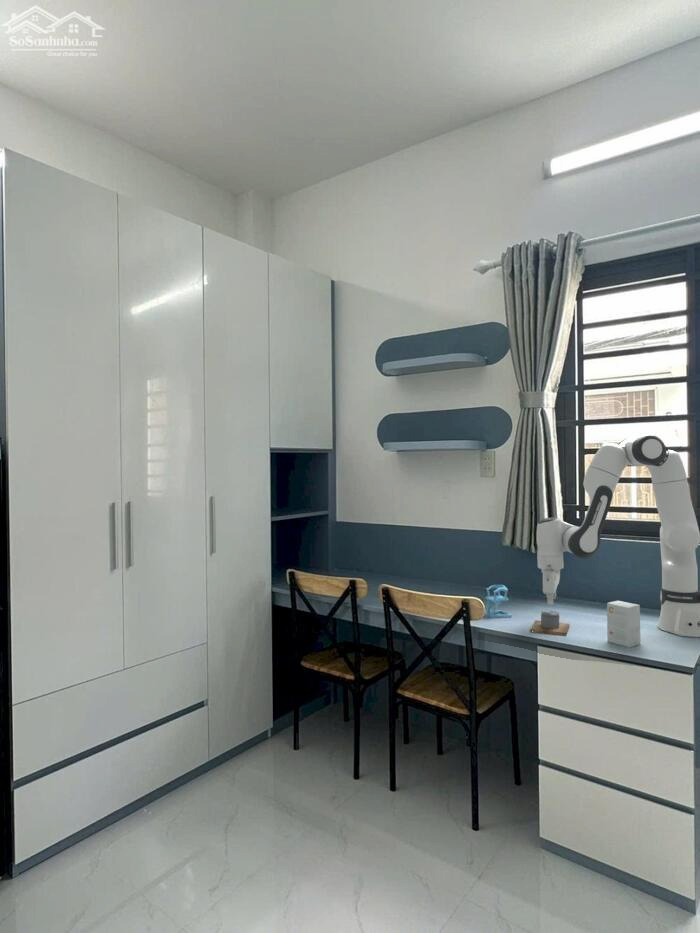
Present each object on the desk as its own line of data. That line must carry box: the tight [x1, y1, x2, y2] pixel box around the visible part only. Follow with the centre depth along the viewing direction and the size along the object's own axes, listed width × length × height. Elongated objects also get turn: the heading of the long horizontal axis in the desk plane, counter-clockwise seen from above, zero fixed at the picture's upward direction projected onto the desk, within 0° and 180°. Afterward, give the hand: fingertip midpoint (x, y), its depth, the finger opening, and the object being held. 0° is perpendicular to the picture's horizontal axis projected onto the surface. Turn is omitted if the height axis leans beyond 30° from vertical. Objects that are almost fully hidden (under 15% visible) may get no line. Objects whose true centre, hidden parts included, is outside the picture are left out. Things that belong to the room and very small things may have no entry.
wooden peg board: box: [530, 620, 571, 637], centre depth 211 cm, size 12×12×4 cm
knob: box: [540, 610, 560, 629], centre depth 211 cm, size 6×6×5 cm
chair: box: [485, 584, 513, 619], centre depth 230 cm, size 8×8×12 cm
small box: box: [606, 600, 641, 648], centre depth 195 cm, size 8×6×13 cm
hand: (552, 601), depth 211 cm, fingers open, 8 cm apart
